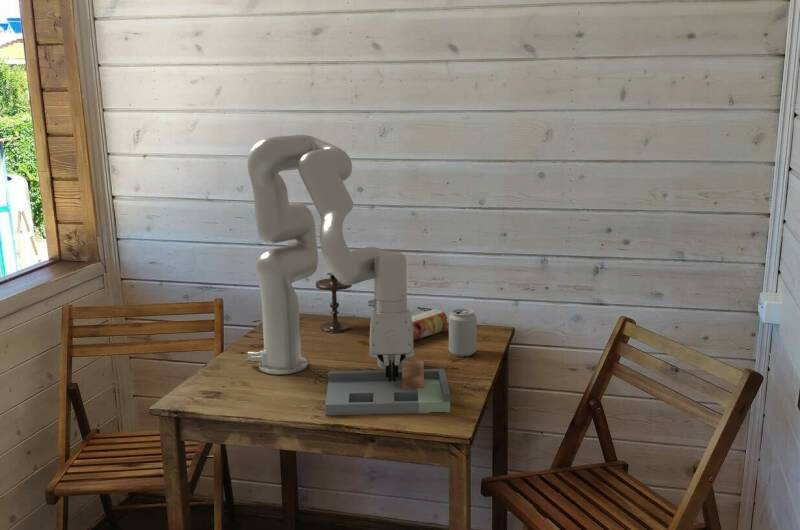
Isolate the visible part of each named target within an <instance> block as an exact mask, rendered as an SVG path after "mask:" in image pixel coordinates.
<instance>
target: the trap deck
mask: <svg viewBox="0 0 800 530" xmlns="http://www.w3.org/2000/svg"><path fill="white" fill-rule="evenodd" d="M445 370H446V369H445V368H431V369H430V368H427V369H424V388H402V369H400V370H398V377H395V381H396V382H393V381H391V382H389V377H386V369H380V370H378V369H376V370H337V371H336V370H333V371H332V370H331V371H328V373H327V374H328V376H327V377H328V382H327V383H328V384H327V388H326V396H325V403H324V409H325V410H324V413H325V414H324V415H325V416H341V415H342V416H344V415H345V416H350V415H351V416H352V415H393V414H394V415H395V414H397V415H398V414H399V415H400V414H402V415H403V414H431V413H430V412H447V413H451V391H450V388H449V384H448V383H449V382H448V379H447V375H446V371H445Z"/></svg>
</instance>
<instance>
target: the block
mask: <svg viewBox="0 0 800 530" xmlns="http://www.w3.org/2000/svg"><path fill="white" fill-rule="evenodd" d="M424 365H425V364H424V360H410V361H402V369H401V370H402V388H424V368H425V367H424Z"/></svg>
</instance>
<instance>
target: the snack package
mask: <svg viewBox="0 0 800 530" xmlns="http://www.w3.org/2000/svg"><path fill="white" fill-rule="evenodd" d="M411 318H412V326H413V342H414V341H417V340H419V339H420V340H421V339H423V338H426V337H430V336H433V335H436V334H440V333H443V332H445V331H446V330H447V326H448V317H447V314H446V313H445V312H444V311H442V310H441V309H436V308H434V309H433V308H432V309H431V310H427V311H424V312H422V313H419V314H416V315H411Z"/></svg>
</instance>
